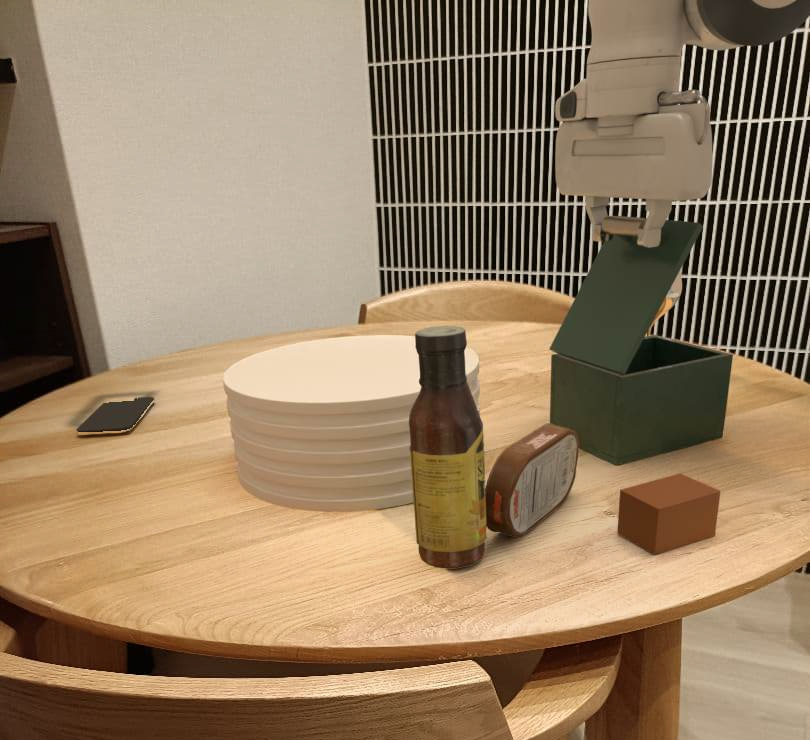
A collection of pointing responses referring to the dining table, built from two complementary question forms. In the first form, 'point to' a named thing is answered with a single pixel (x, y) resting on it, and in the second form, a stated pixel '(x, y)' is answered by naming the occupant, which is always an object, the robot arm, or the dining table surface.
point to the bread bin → (643, 400)
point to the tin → (531, 479)
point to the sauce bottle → (447, 454)
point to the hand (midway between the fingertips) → (624, 243)
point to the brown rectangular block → (668, 513)
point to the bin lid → (623, 292)
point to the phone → (116, 415)
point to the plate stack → (329, 421)
